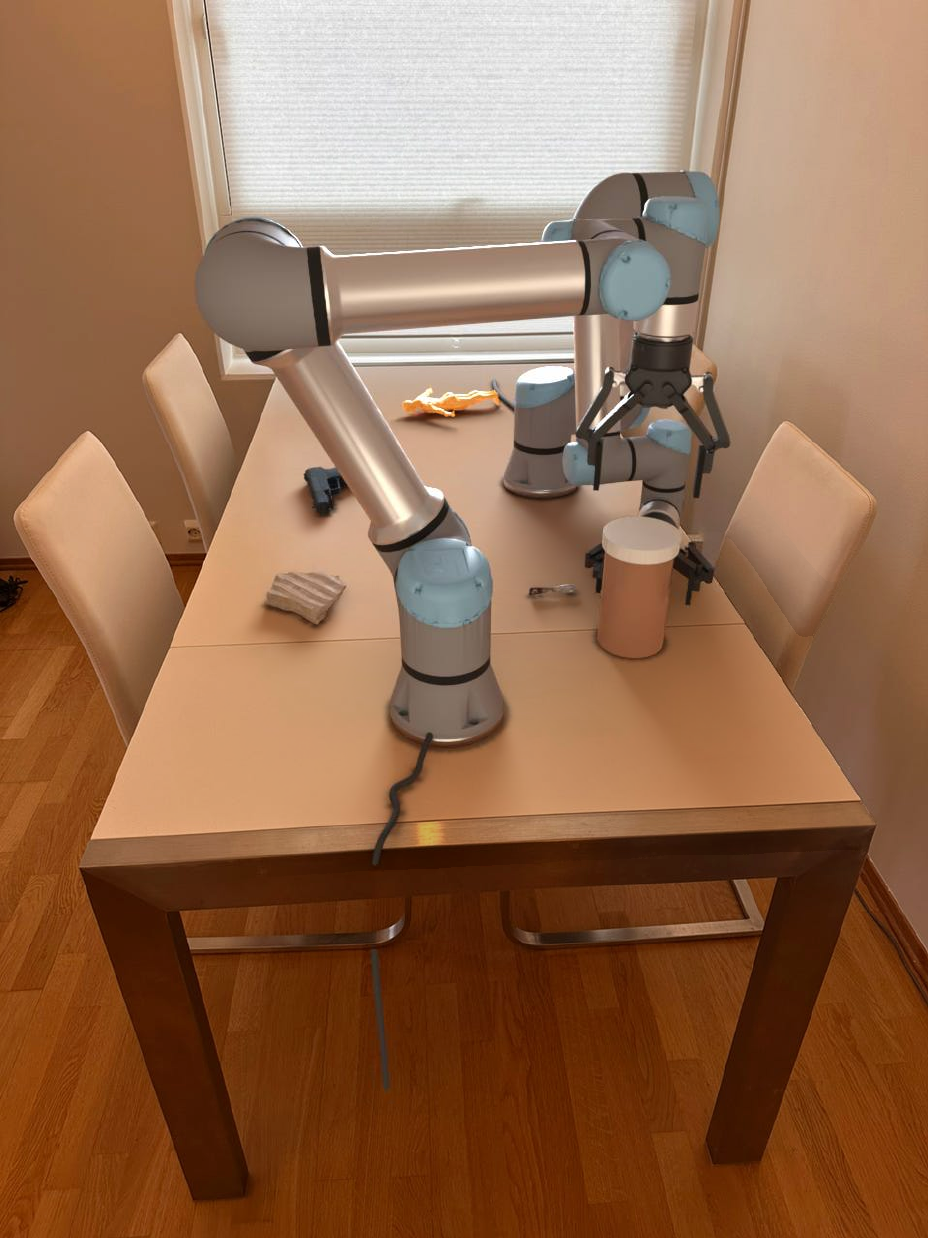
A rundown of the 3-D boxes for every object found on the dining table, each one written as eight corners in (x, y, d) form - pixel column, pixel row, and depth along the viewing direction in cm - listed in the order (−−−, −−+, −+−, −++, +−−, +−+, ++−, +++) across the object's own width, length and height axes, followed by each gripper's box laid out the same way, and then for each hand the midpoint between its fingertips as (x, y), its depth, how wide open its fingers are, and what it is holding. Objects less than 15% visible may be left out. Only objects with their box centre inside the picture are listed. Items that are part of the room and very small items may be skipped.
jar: (584, 642, 135) (593, 537, 126) (619, 615, 142) (629, 514, 132) (641, 666, 130) (654, 558, 121) (674, 637, 136) (689, 533, 127)
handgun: (374, 509, 176) (313, 517, 173) (359, 474, 190) (302, 481, 188) (373, 494, 174) (311, 502, 172) (358, 460, 188) (301, 466, 186)
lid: (586, 548, 127) (587, 535, 126) (627, 522, 134) (628, 509, 133) (654, 572, 121) (656, 558, 120) (693, 544, 128) (695, 530, 127)
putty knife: (576, 592, 148) (577, 584, 147) (529, 598, 146) (530, 589, 145) (574, 589, 149) (575, 581, 148) (528, 595, 147) (528, 586, 146)
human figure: (395, 413, 223) (394, 398, 221) (438, 390, 237) (438, 375, 235) (462, 429, 215) (462, 413, 213) (502, 404, 229) (503, 388, 227)
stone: (356, 590, 149) (354, 577, 147) (319, 626, 139) (317, 612, 138) (289, 576, 153) (287, 563, 152) (249, 610, 144) (247, 596, 142)
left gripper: (763, 330, 113) (737, 486, 124) (567, 321, 117) (558, 473, 128) (768, 346, 107) (740, 508, 118) (560, 336, 111) (552, 494, 122)
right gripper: (727, 559, 152) (723, 623, 135) (582, 542, 158) (560, 601, 141) (734, 519, 148) (731, 580, 131) (585, 503, 154) (563, 559, 137)
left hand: (645, 490), depth 123 cm, fingers open, 13 cm apart
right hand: (643, 591), depth 136 cm, fingers open, 13 cm apart
